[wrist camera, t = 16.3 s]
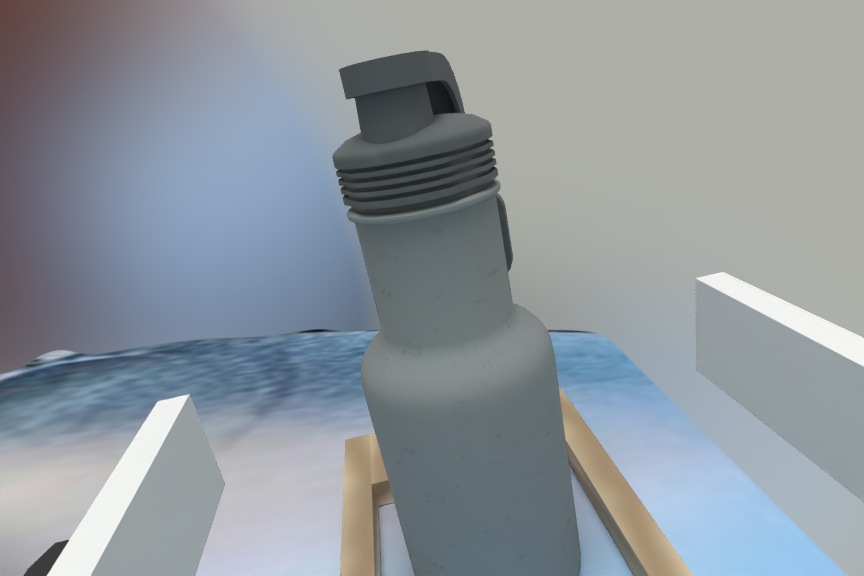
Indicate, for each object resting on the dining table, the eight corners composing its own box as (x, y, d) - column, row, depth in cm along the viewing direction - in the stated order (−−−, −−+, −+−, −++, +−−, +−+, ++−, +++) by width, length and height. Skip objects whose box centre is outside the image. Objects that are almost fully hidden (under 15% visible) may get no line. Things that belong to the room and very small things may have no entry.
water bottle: (436, 497, 38) (335, 81, 28) (578, 497, 35) (519, 39, 26) (398, 636, 29) (230, 89, 19) (586, 649, 26) (500, 25, 17)
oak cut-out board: (345, 730, 25) (335, 702, 24) (351, 460, 44) (345, 440, 43) (711, 630, 26) (711, 601, 25) (563, 408, 45) (561, 388, 44)
